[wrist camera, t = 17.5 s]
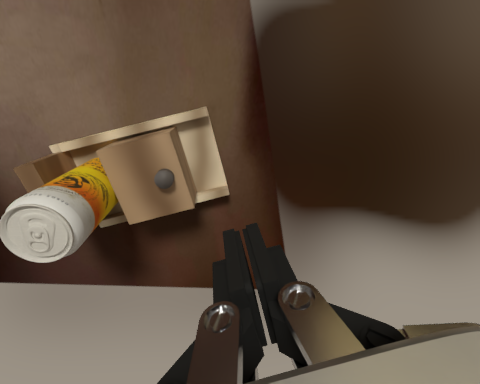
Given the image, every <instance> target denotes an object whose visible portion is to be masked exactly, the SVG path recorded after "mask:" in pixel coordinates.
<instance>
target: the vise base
mask: <svg viewBox="0 0 480 384" xmlns="http://www.w3.org/2000/svg"><path fill="white" fill-rule="evenodd" d="M175 126H176V128H177V131H178V134H179V137H180V140H181V143H182V146H183V149H184V153H185V156H186V159H187V162H188V165H189V168H190V171H191V174H192V178H193V181H194V184H195V187H196V190H197V192H196V200H195V203H199V202H203V201H207V200H211V199H215V198H219V197H222V196H226V195H230V194H229V190H228V186H227V182H226V178H225V174H224V171H223V167H222V163H221V159H220V156H219V152H218V148H217V144H216V141H215V137H214V133H213V129H212V126H211V122H210V118H209V114H208V111H207V107H202V108H198V109H194V110H190V111H186V112H182V113H178V114H174V115H170V116H166V117H162V118H158V119H154V120H150V121H146V122H142V123H138V124H134V125H130V126H126V127H122V128H118V129H114V130H110V131H106V132H102V133H98V134H94V135H90V136H86V137H82V138H78V139H74V140H70V141H66V142H62V143H58V144H54V145H51V146H49V147H50V149H51V151H52V153H53V154H50V155H48V156H45V157H42V158H40V159H37V160H34V161H31V162H29V163H26V164H23V165H21V166H18V167H15V168H13V169H14V171H15V172H16V174H17V176H18V177H19V179H20V181H21V182H22V184H23V185H24V187H25V189H26V190H27V192H28V193H30V192H31V191H33V190H35V189H37V188H39V187H41V186H43V185H44V184H46V183H48V182H50V181H52V180H54V179H56V178H57V177H59V176H61V175H63V174H65V173H67V172H69V171H70V170H72V169H74V168H76V167H78V166H80V165H82V164H83V163H85V162H87V161H89V160H91V159H94V158H99V157H98V155H97V153H96V151H97V150H99V149H101V148H103V147H105V146H107V145H109V144H111V143H113V142H115V141H119V140H123V139H127V138H131V137H135V136H139V135H143V134H147V133H151V132H155V131H159V130H163V129H167V128H171V127H175ZM126 221H128V220H127V218H126V216H125V214H124V212H123V210H122V207H121V205H120V203H119V201H118V203H117V204H116V205H115V206H114V207H113V208H112V210H111V211H110V212H109V213H108V214H107V215H106V217H105V218H104V219H103V220H102V221H101V222H100V224H99V225H100V227H101V228H103V227H107V226H111V225H114V224H118V223H122V222H126Z"/></svg>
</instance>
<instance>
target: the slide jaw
mask: <svg viewBox="0 0 480 384" xmlns="http://www.w3.org/2000/svg"><path fill="white" fill-rule="evenodd" d="M96 153H97V155H98V157H99V159H100V162H101V164H102V166H103V168H104V170H105V172H106V175H107V177H108V179H109V181H110V183H111V186H112V188H113V190H114V192H115V194H116V196H117V199H118V201H119V203H120V205H121V207H122V210H123V212H124V214H125V216H126V218H127V220H128V223H129V225H131V224H135V223H139V222H143V221H146V220H150V219H154V218H158V217H162V216H166V215H170V214H173V213H177V212H181V211H185V210H189V209H193V208H195V200H196V192H197V190H196V187H195V184H194V181H193V178H192V174H191V171H190V168H189V165H188V162H187V159H186V156H185V153H184V149H183V146H182V143H181V140H180V137H179V134H178V131H177V128H176V126H175V127H171V128H167V129H163V130H159V131H155V132H151V133H147V134H143V135H139V136H135V137H131V138H127V139H123V140H119V141H115V142H113V143H111V144H109V145H107V146H105V147H103V148H101V149H99V150H97V151H96Z"/></svg>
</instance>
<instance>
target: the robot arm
mask: <svg viewBox="0 0 480 384" xmlns="http://www.w3.org/2000/svg"><path fill="white" fill-rule="evenodd" d="M243 234H244V238H245V242H246V246H247V250H248V254H249V258H250V262H251V266H252V270H253V274H254V278H255V282H256V286H257V290H258V294H259V297H260V301H261V305H262V309H263V313H264V316H265V320H266V324H267V328H268V332H269V336H270V339H271V343H272V344H274V343H277V344H278V348H279V352H281V353H283V354H285V355H287V356H288V357H290V358H291V360H292V363H293V366H294V368H295V370H291V371H288V372H284V373H281V374H277V375H273V376H270V377H266V378H263V379H259V380H258V371H257V366H258V364H259V362H260V361H261V359H262V357H263V356H264V353H263V348H262V347H263V346H266V345H267V341H266V337H265V333H264V329H263V325H262V320H261V316H260V312H259V308H258V303H257V300H256V295H255V291H254V286H253V282H252V278H251V274H250V270H249V267H248V263H247V259H246V256H245V252H244V248H243V244H242V241H241V237H240V233H239V231H234V229H231V230H227V231H223V239H224V249H225V258H226V259H224V260H220V261H217V262H213V305H211V306H209V307H208V308H207V309H206V310H205V311H204V312H203V314H202V315H201V318H200V320H199V325H198V330H197V335H196V340H195V341H194V342H193V343H192V344H191V345H190V346H189V348H188V349H187V350H186V351H185V352H184V353H183V355H182V356H181V357H180V358H179V359H178V360H177V361H176V362H175V364H174V365H173V366H172V367H171V368H170V369H169V371H168V372H167V373H166V374H165V375H164V376H163V377H162V379H161V380H160V381H159V382H158V383H157V384H480V325H479V324H477V323H445V324H424V325H403V329H395V328H394V327H392V326H390V325H388V324H386V323H383V322H380V321H378V320H375V319H372V318H369V317H366V316H364V315H361V314H358V313H355V312H353V311H350V310H347V309H344V308H342V307H339V306H336V305H333V304H330V303H328V302H327V301H326V300H325V299H324V297H323V296H322V295H321V294H320V292H319V291H318V290H317V289H316V288H315V287H314V286H313V285H311V284H309V283H307V282H302V281H297V279H296V276H295V274H294V272H293V270H292V268H291V266H290V264H289V262H288V260H287V258H286V256H285V254H284V252H283V250H282V247H281V246H280V245H277V246H273V247H269V248H266V246H265V243H264V241H263V238H262V235H261V233H260V230H259V227H258V225H257V223H254V224H250V225H246V229H243Z"/></svg>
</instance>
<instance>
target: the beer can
mask: <svg viewBox="0 0 480 384" xmlns="http://www.w3.org/2000/svg"><path fill="white" fill-rule="evenodd" d="M117 203H118V199H117V196H116V194H115V192H114V190H113V188H112V186H111V183H110V181H109V179H108V177H107V175H106V172H105V170H104V168H103V166H102V164H101V162H100V159H99V158H94V159H91V160H89V161H87V162H85V163H83V164H82V165H80V166H78V167H76V168H74V169H72V170H70V171H69V172H67V173H65V174H63V175H61V176H59V177H57V178H56V179H54V180H52V181H50V182H48V183H46V184H44V185H43V186H41V187H39V188H37V189H35V190H33V191H31V192H30V193H28V194H26V195H24V196H22V197H20V198H18V199H17V200H15V201H14V202H12V203H11V204H10V205H9V206H8V208H7V209H6V211H5V214H4V215H3V216H2V218H1V220H0V238H1V240H2V242H3V243H4V245H5V246H6V247H7V248H8V249H9V250H10V251H11V252H12V253H14V254H15V255H17V256H19V257H21V258H23V259H25V260H28V261H32V262H38V263H48V262H53V261H56V260H59V259H61V258H62V257H65V256H68V255H70V254H72V253H74V252H75V251H76V250H77V249H78V248H79V247H80V246H81V245H82V243H83V242H84V241H85V240H86V239H87V238H88V236H89V235H90V234H91V233H92V232H93V231H94V229H95V228H96V227H97V226H98V225H99V224H100V222H101V221H102V220H103V219H104V218H105V217H106V215H107V214H108V213H109V212H110V211H111V210H112V208H113V207H114V206H115V205H116V204H117Z"/></svg>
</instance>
